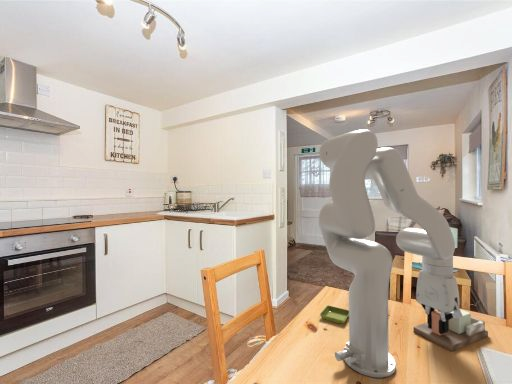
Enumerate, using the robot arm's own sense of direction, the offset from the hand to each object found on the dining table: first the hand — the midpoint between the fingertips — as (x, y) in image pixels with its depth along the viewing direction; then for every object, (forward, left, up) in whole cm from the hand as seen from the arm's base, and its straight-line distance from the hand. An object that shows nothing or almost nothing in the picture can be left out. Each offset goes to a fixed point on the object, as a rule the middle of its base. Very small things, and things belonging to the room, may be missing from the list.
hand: (437, 329), depth 77 cm
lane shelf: (+6, 0, -3) cm, 7 cm away
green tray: (-19, +23, -3) cm, 30 cm away
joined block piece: (+5, 0, -1) cm, 5 cm away
